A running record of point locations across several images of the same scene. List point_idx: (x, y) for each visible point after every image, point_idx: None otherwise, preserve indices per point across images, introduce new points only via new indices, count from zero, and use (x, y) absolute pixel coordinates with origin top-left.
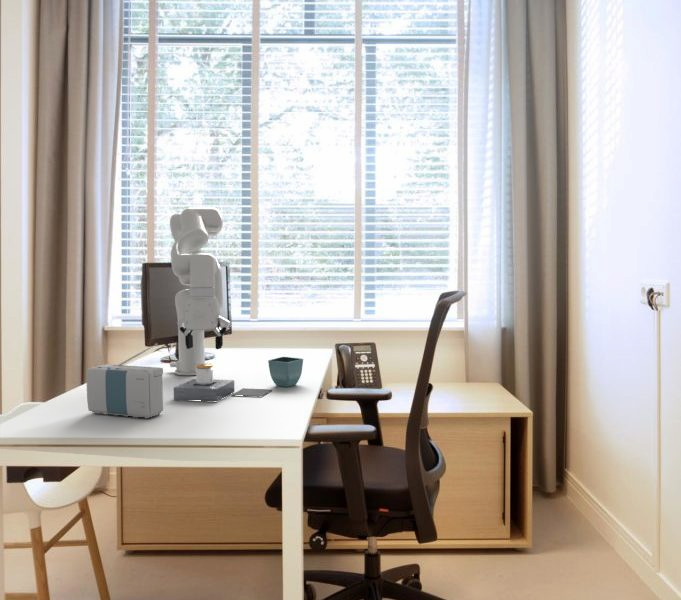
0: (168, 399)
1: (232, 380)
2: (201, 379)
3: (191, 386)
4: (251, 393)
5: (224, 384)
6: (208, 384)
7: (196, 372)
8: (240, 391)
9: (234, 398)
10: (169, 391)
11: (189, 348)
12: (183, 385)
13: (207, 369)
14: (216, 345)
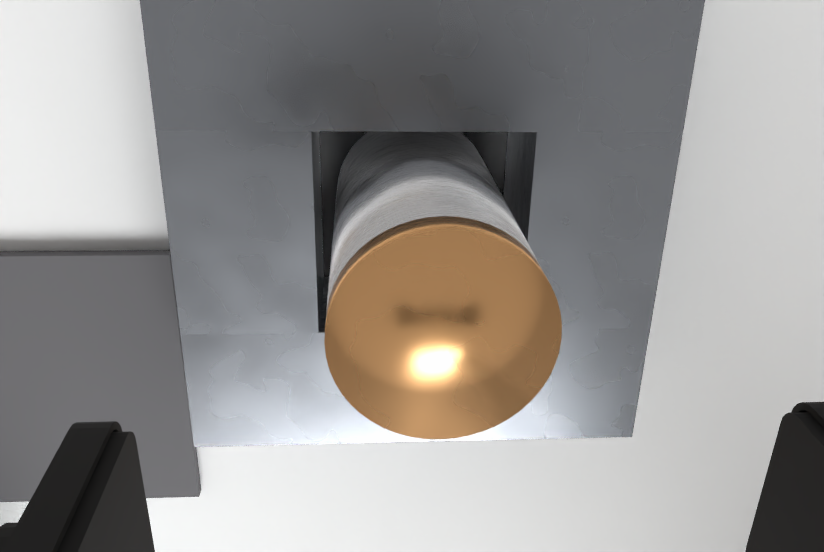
0: (723, 9)
1: (207, 436)
2: (426, 170)
3: (514, 72)
4: (13, 337)
5: (186, 242)
6: (351, 185)
7: (521, 234)
8: (157, 390)
9: (94, 168)
10: (807, 320)
11: (781, 452)
12: (628, 110)
13: (357, 247)
14: (75, 469)
